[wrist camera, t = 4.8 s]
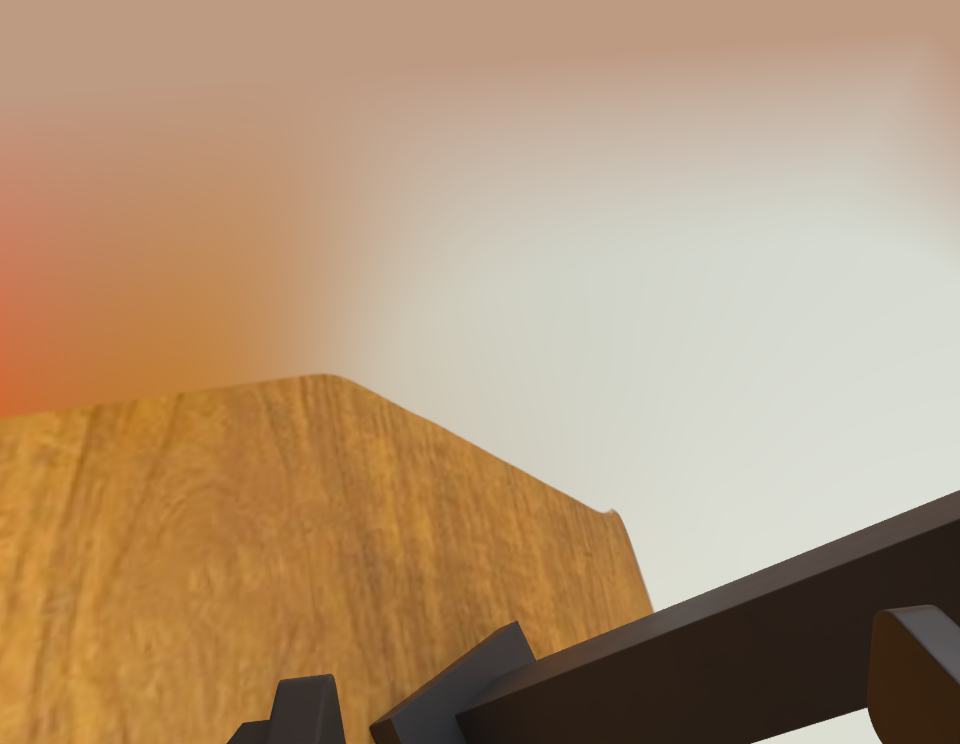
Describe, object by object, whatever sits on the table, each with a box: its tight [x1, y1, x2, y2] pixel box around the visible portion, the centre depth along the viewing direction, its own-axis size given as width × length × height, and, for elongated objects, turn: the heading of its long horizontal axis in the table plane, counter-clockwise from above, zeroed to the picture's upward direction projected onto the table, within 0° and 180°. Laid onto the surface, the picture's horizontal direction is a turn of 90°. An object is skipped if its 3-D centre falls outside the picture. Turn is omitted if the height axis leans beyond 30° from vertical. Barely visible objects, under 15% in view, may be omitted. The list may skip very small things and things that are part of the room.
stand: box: [370, 490, 960, 744], centre depth 40 cm, size 34×10×34 cm, turn 135°
